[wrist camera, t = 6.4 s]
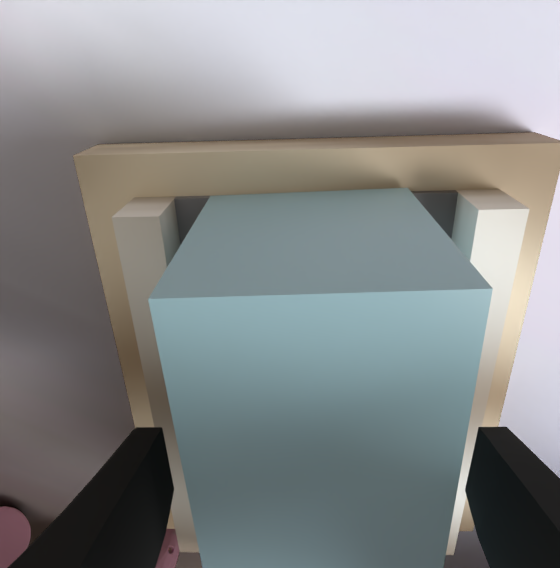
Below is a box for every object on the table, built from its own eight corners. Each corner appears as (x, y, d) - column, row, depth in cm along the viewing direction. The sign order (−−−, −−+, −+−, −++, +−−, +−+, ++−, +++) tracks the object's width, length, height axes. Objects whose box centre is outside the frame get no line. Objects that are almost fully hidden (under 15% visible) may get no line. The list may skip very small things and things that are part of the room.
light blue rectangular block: (383, 513, 15) (419, 703, 11) (248, 514, 15) (229, 701, 11) (407, 187, 10) (492, 288, 6) (210, 195, 11) (147, 299, 6)
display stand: (459, 493, 17) (489, 575, 14) (168, 492, 18) (145, 571, 15) (534, 132, 11) (608, 156, 9) (98, 144, 12) (39, 170, 9)
